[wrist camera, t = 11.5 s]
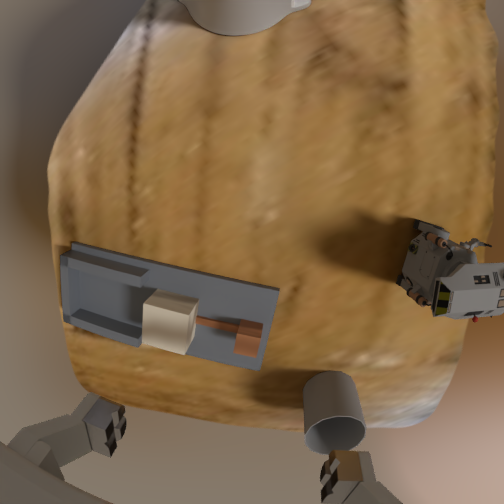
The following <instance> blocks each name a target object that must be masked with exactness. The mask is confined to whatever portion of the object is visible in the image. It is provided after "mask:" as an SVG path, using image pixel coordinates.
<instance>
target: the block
mask: <svg viewBox="0 0 504 504" xmlns="http://www.w3.org/2000/svg"><path fill="white" fill-rule="evenodd" d="M198 305H199V299H197V298H193V297H189V296H185V295H181V294H177V293H173V292H169V291H165V290H161V289H157V290H156V291H155V292H154V293H153V294H152V295H151V296H150V297H149V298H148V299H147V300H146V301H145V302H144V303H143V323H142V343H144V344H147V345H151V346H154V347H157V348H161V349H164V350H168V351H171V352H175V353H179V354H182V355H185V353H186V351H187V350H188V348H189V346H190V344H191V342H192V340H193V338H194V336H195V328H196V324H200V325H204V326H208V327H212V328H216V329H221V330H225V331H229V332H234V333H237V336H236V341H235V346H234V351H233V353H236V354H240V355H245V356H250V357H254V358H256V357H257V353H258V349H259V345H260V341H261V335H262V329H263V323H258V322H254V321H249V320H245V319H241V322H240V325H237V324H233V323H228V322H224V321H220V320H215V319H211V318H207V317H203V316H199V315H197V312H198Z"/></svg>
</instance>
